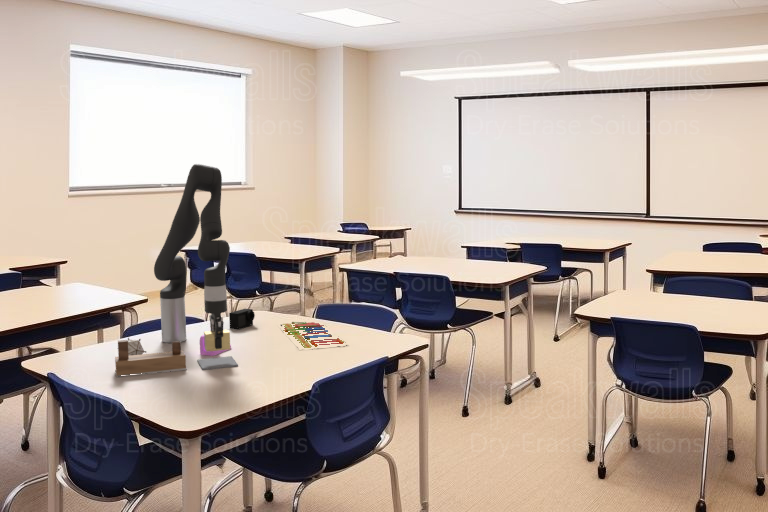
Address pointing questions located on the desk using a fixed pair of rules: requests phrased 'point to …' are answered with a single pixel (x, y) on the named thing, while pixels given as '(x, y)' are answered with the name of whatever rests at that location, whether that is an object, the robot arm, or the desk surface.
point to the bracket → (210, 353)
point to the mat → (217, 363)
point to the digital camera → (241, 318)
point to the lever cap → (210, 340)
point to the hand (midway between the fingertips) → (217, 346)
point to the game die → (135, 347)
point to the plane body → (149, 360)
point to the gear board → (311, 325)
